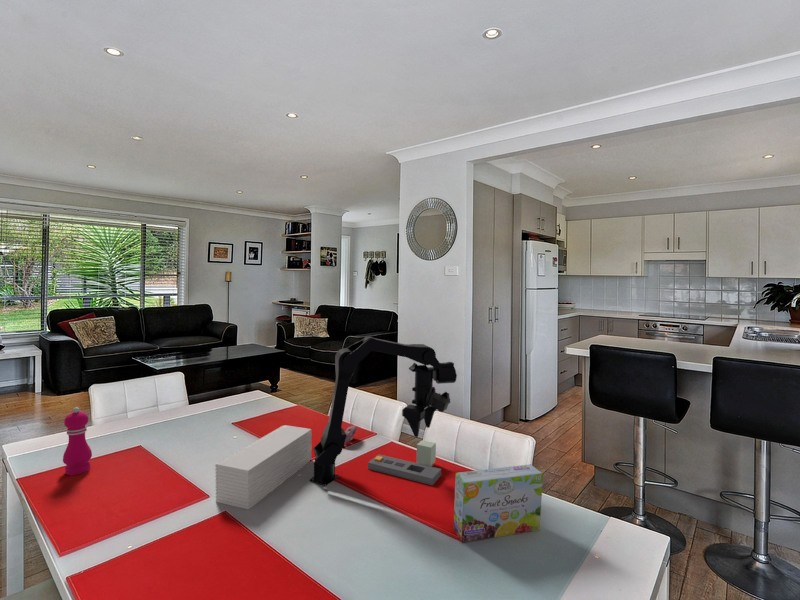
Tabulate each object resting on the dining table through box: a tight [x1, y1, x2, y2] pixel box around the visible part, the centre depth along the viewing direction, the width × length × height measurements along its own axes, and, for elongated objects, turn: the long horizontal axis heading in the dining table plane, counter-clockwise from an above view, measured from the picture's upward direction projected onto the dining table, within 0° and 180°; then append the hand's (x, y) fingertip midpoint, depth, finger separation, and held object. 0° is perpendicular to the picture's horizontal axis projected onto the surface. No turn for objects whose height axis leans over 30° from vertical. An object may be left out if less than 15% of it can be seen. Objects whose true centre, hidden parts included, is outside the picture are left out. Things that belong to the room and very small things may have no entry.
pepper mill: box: [62, 406, 93, 476], centre depth 132 cm, size 7×7×20 cm
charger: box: [415, 439, 437, 467], centre depth 138 cm, size 4×5×8 cm
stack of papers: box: [214, 424, 313, 510], centre depth 129 cm, size 32×11×11 cm, turn 161°
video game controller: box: [344, 424, 358, 445], centre depth 158 cm, size 10×5×7 cm, turn 169°
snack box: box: [453, 464, 544, 544], centre depth 105 cm, size 21×6×15 cm, turn 106°
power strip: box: [367, 454, 442, 486], centre depth 133 cm, size 7×22×4 cm, turn 63°
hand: (422, 431), depth 138 cm, fingers open, 9 cm apart
